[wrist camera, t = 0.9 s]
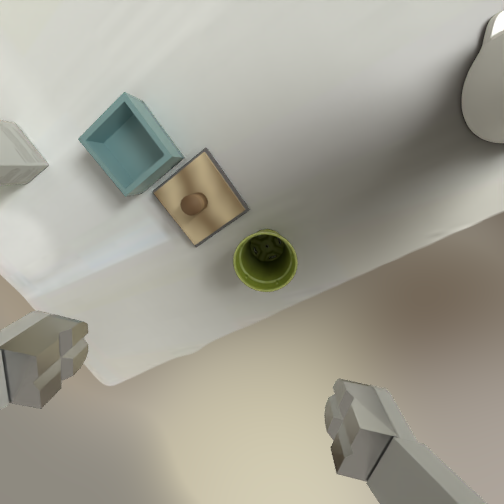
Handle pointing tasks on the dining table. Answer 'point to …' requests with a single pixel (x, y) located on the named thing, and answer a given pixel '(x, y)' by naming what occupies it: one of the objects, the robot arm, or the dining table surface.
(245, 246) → the plant pot
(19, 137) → the skincare box
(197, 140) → the dining table surface
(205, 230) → the lid
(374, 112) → the dining table surface
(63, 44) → the dining table surface
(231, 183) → the mat
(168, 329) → the dining table surface
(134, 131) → the teal open box
